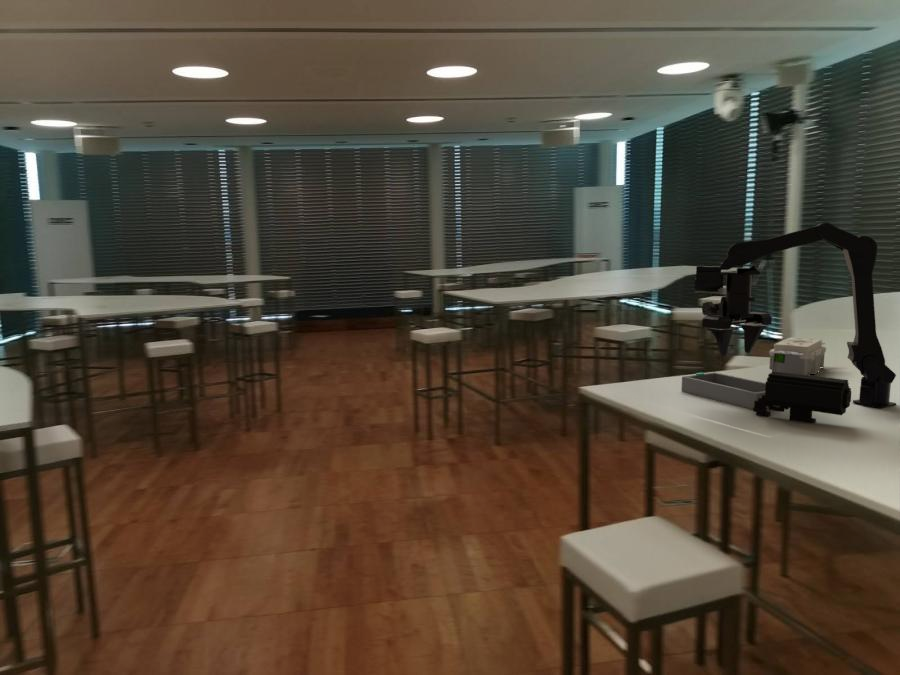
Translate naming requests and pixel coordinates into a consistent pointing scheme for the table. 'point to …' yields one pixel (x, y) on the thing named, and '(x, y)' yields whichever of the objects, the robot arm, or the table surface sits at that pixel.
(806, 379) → the black stepped block
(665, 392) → the table surface
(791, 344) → the white box
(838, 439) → the table surface
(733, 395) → the gray open-top storage bin
